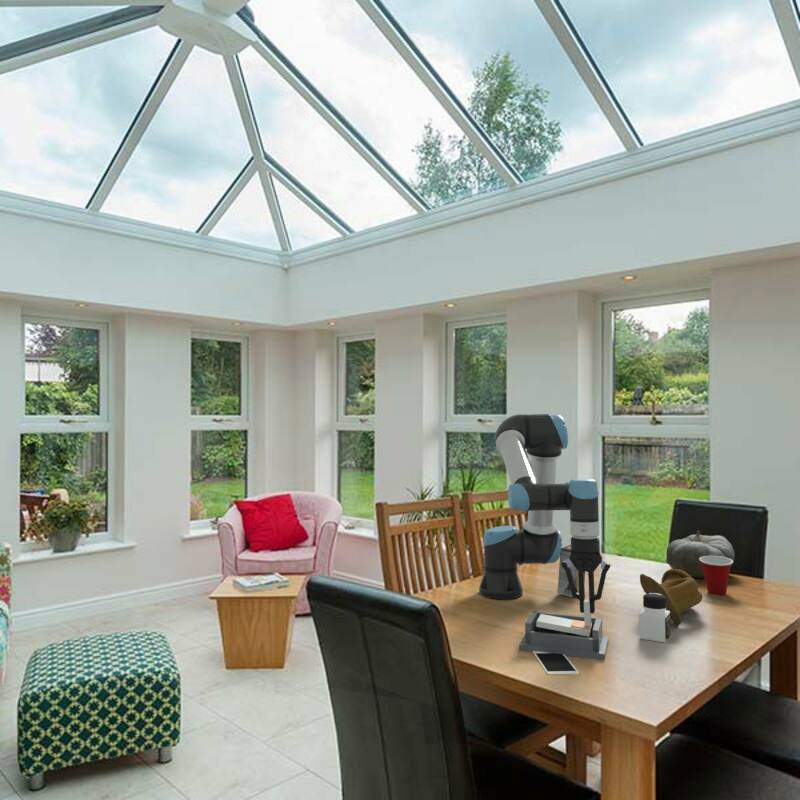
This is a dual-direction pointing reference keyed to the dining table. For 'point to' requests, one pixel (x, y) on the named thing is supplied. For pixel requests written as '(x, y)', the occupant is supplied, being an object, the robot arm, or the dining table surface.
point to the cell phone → (555, 663)
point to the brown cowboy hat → (674, 591)
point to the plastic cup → (716, 573)
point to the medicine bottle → (654, 619)
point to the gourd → (697, 552)
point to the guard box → (564, 638)
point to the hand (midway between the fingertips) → (587, 624)
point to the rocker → (563, 625)
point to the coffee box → (562, 579)
